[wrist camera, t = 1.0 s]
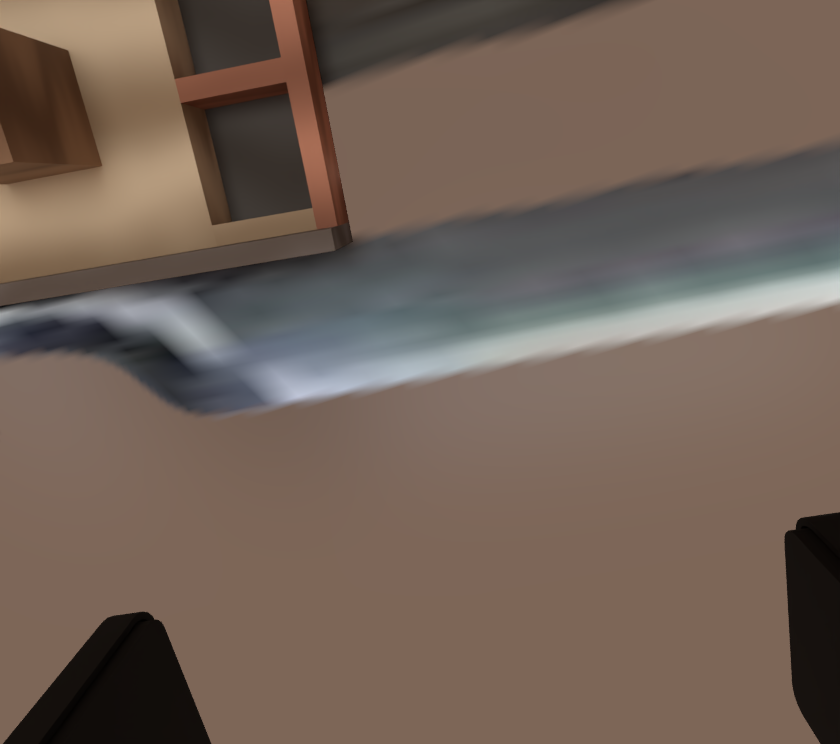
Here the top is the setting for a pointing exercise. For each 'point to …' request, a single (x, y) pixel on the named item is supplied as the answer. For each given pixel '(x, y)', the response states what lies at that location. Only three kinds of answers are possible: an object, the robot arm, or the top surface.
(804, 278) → the top surface
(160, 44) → the box
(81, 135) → the walnut block
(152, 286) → the top surface
